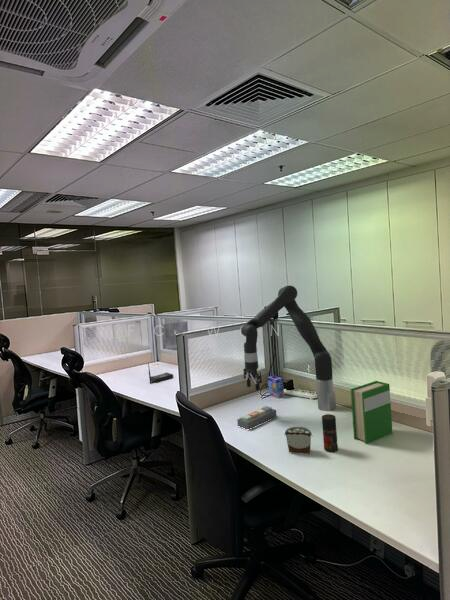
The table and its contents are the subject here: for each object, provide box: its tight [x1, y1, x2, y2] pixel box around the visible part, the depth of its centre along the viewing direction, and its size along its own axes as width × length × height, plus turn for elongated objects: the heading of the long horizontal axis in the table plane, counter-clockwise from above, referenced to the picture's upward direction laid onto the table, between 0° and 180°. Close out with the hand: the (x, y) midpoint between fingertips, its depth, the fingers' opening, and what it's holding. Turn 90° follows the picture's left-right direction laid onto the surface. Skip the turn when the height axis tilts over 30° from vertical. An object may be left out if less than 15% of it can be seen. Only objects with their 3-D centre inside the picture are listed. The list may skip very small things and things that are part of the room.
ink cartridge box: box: [267, 373, 285, 399], centre depth 251 cm, size 10×6×14 cm, turn 29°
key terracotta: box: [247, 411, 259, 419], centre depth 210 cm, size 4×4×3 cm
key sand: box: [254, 408, 265, 416], centre depth 213 cm, size 4×4×3 cm
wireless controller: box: [147, 363, 174, 385], centre depth 314 cm, size 20×14×17 cm
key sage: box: [240, 414, 252, 422], centre depth 206 cm, size 4×4×3 cm
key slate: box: [260, 405, 273, 413], centre depth 216 cm, size 4×4×3 cm
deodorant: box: [321, 413, 339, 453], centre depth 172 cm, size 6×6×15 cm
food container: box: [283, 426, 313, 455], centre depth 174 cm, size 12×6×10 cm, turn 71°
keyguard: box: [236, 408, 278, 430], centre depth 211 cm, size 8×22×4 cm, turn 131°
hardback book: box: [350, 380, 393, 445], centre depth 181 cm, size 18×7×24 cm, turn 119°
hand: (253, 388), depth 216 cm, fingers open, 8 cm apart
